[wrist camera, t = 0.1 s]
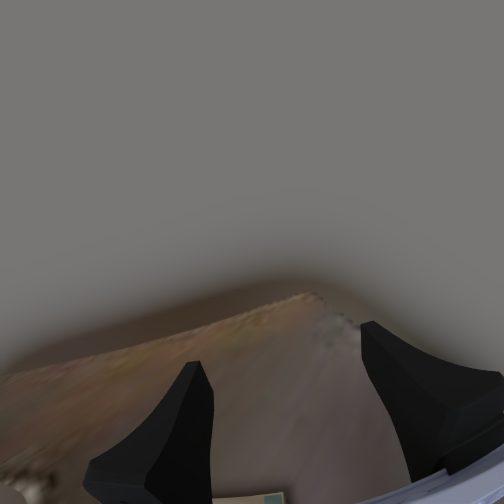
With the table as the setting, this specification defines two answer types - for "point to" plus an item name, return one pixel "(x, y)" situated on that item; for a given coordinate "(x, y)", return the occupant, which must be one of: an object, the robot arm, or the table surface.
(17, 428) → the table surface
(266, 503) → the cream flat block
